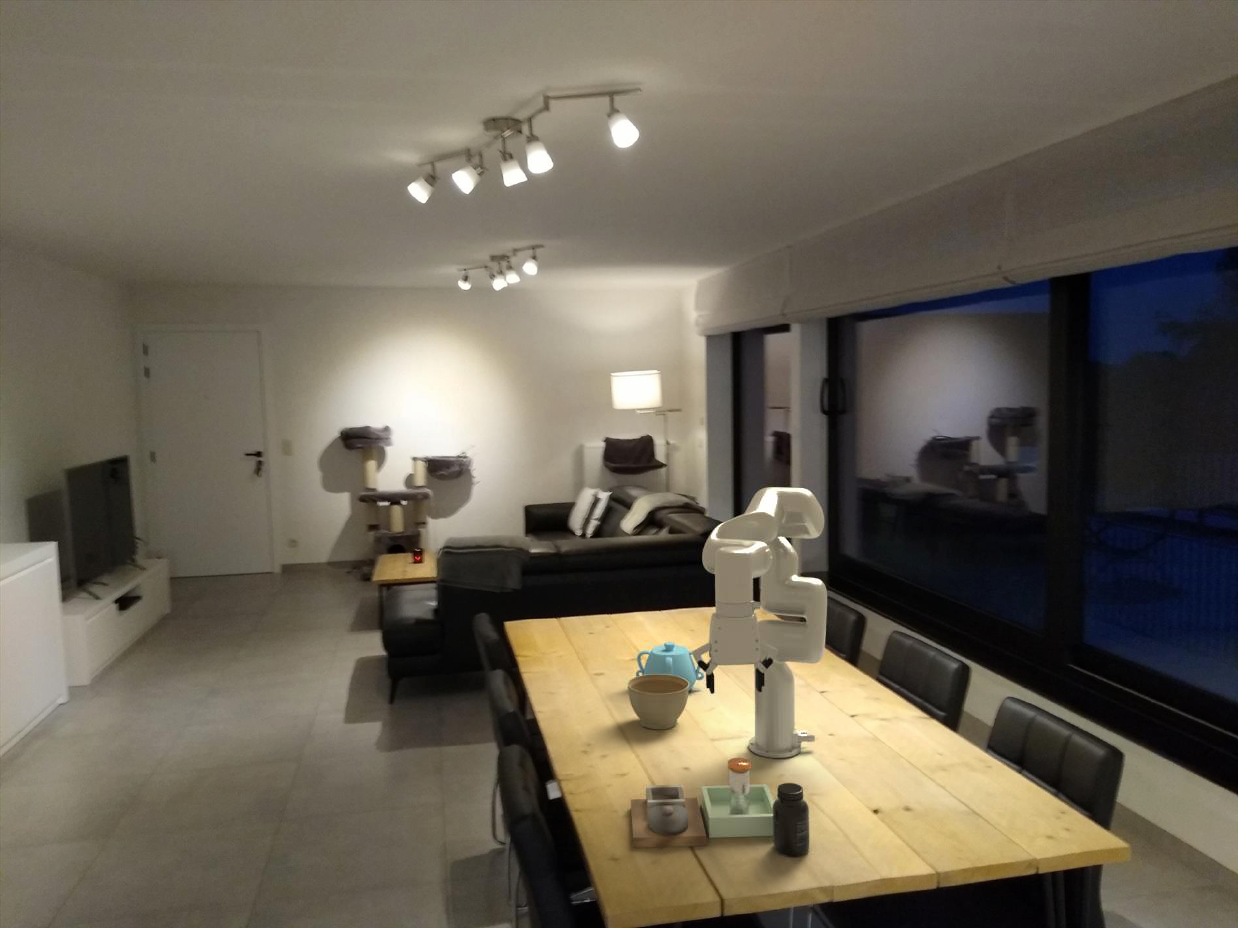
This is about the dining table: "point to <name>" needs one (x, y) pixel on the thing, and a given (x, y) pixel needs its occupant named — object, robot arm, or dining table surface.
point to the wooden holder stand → (666, 819)
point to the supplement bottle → (790, 821)
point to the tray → (737, 825)
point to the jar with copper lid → (739, 786)
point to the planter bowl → (658, 699)
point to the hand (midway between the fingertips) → (735, 690)
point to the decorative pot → (670, 662)
